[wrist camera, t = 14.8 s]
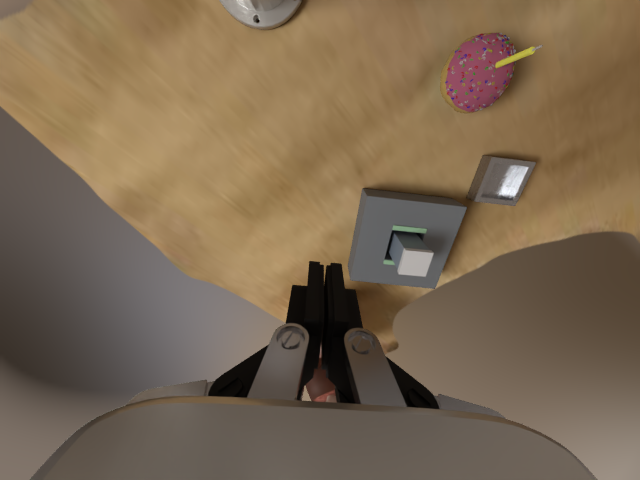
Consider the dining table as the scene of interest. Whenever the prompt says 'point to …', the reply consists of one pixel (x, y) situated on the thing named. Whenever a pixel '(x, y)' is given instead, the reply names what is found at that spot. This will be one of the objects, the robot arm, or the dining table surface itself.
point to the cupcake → (479, 71)
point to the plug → (409, 253)
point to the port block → (402, 215)
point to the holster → (500, 180)
